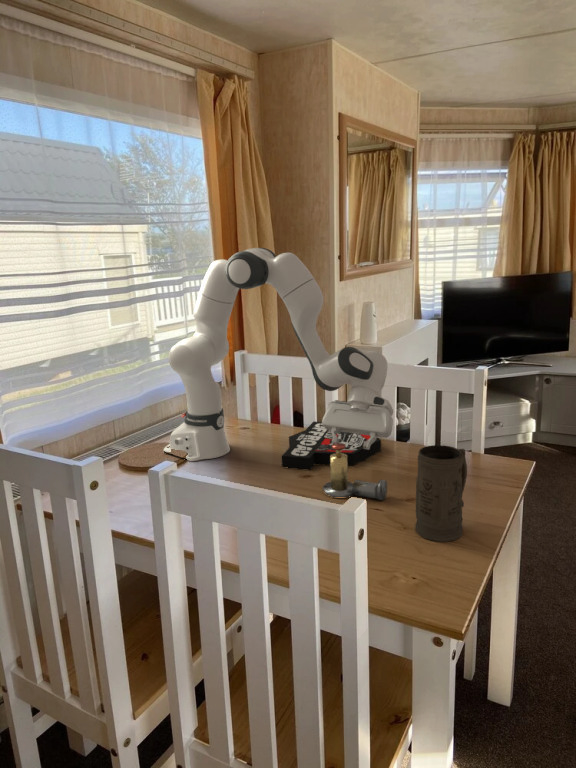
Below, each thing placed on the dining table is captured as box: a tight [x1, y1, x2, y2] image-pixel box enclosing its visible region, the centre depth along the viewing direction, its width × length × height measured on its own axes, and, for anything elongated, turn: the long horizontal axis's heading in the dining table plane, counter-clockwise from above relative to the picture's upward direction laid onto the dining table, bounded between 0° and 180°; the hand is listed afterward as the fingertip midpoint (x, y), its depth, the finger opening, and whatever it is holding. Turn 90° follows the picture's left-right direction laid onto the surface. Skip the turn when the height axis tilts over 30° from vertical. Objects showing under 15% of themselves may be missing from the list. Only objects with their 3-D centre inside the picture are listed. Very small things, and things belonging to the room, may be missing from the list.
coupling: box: [322, 479, 388, 501], centre depth 154 cm, size 17×9×5 cm, turn 61°
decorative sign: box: [281, 421, 382, 471], centre depth 186 cm, size 34×4×30 cm
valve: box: [329, 443, 349, 491], centre depth 155 cm, size 5×5×12 cm
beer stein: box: [414, 444, 468, 543], centre depth 133 cm, size 15×11×20 cm
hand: (350, 446), depth 160 cm, fingers open, 8 cm apart
